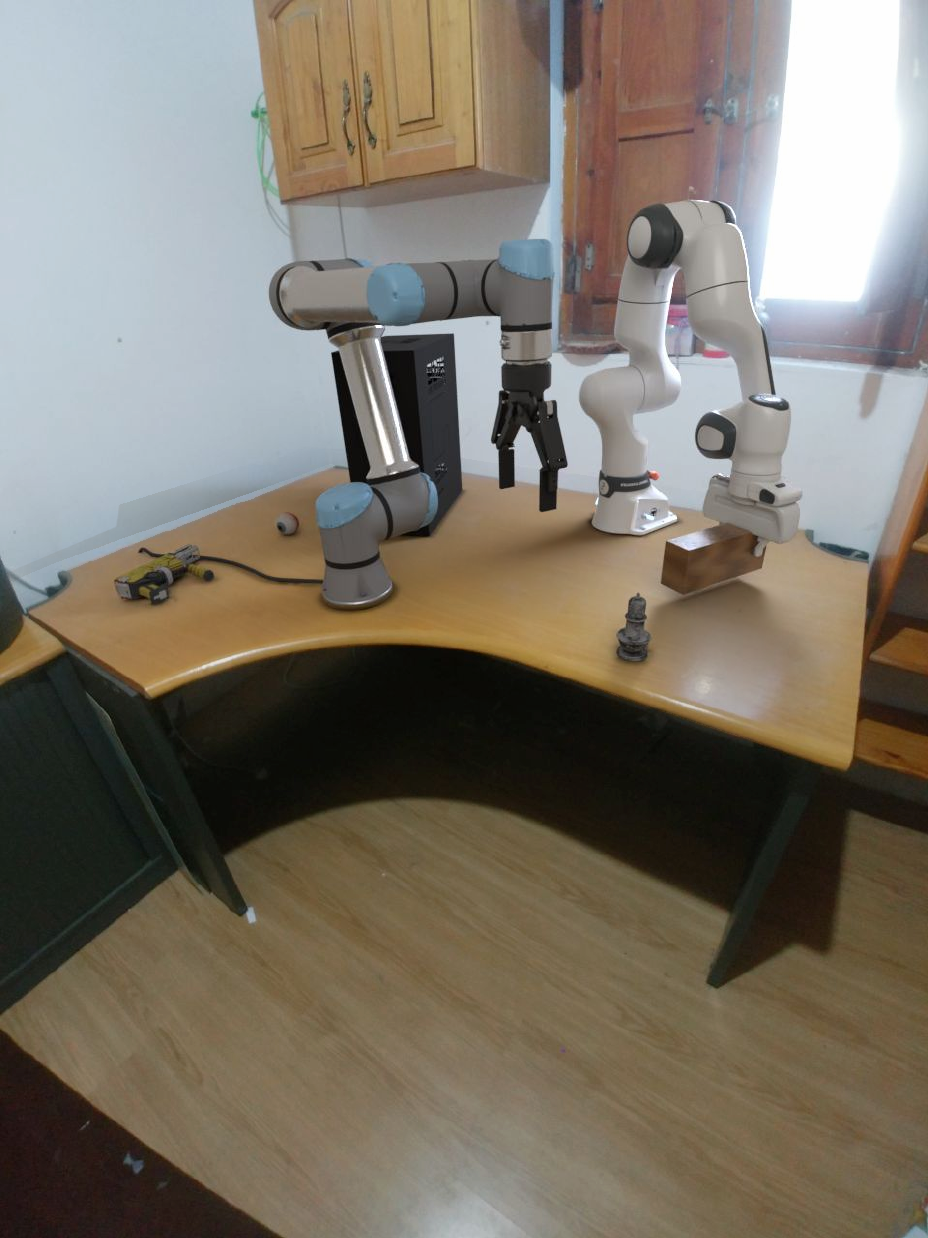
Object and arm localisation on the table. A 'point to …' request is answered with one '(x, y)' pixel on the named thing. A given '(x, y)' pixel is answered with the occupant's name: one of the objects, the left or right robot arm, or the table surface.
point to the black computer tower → (414, 413)
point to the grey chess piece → (634, 631)
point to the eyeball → (287, 523)
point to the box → (709, 558)
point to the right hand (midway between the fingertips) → (740, 549)
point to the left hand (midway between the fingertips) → (526, 498)
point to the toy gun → (160, 575)
